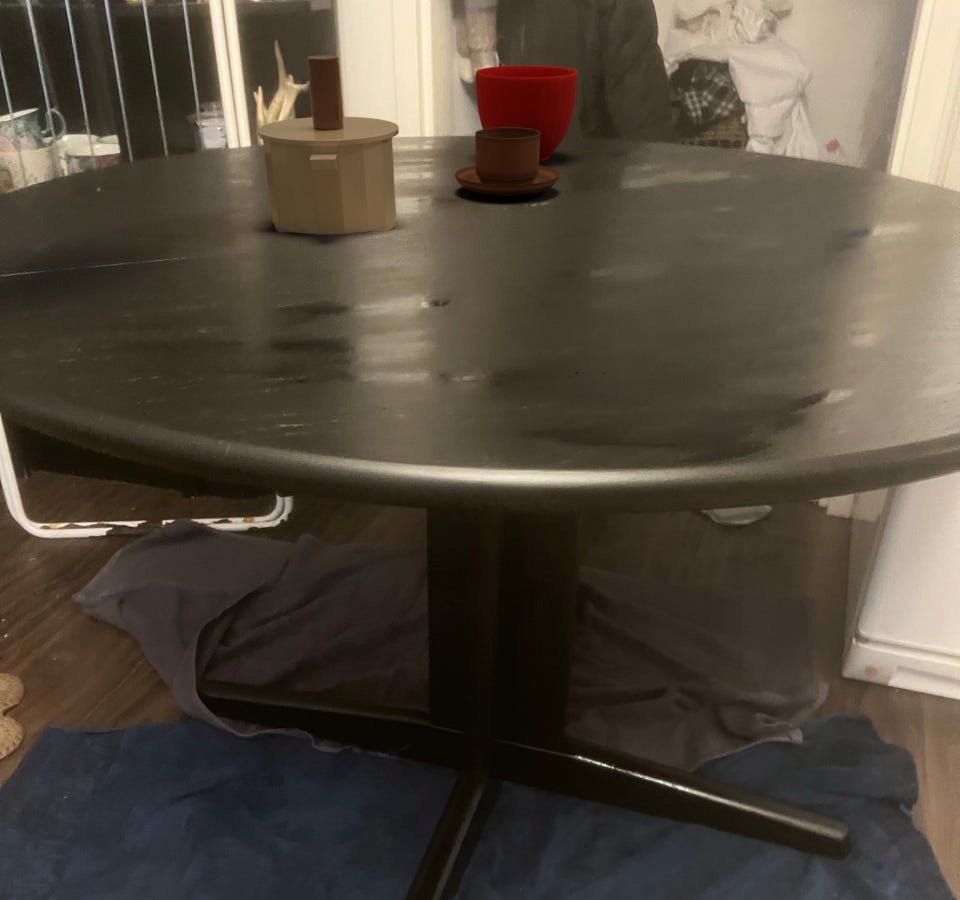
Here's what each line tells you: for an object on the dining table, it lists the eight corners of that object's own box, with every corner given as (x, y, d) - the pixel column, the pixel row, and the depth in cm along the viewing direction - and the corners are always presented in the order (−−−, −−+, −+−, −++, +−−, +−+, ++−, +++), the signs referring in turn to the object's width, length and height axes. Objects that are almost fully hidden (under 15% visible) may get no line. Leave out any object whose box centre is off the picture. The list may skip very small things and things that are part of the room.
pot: (264, 248, 94) (252, 151, 89) (283, 205, 108) (273, 119, 103) (395, 246, 94) (390, 149, 89) (397, 203, 109) (393, 118, 104)
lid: (250, 154, 91) (238, 66, 87) (267, 129, 102) (258, 50, 98) (398, 152, 91) (394, 64, 87) (399, 127, 103) (396, 48, 98)
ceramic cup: (563, 143, 138) (567, 61, 132) (579, 166, 125) (584, 77, 119) (472, 144, 138) (471, 62, 132) (478, 168, 124) (478, 78, 118)
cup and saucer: (450, 182, 118) (448, 125, 114) (547, 179, 119) (549, 122, 115) (461, 205, 108) (461, 143, 104) (568, 201, 109) (571, 140, 106)
